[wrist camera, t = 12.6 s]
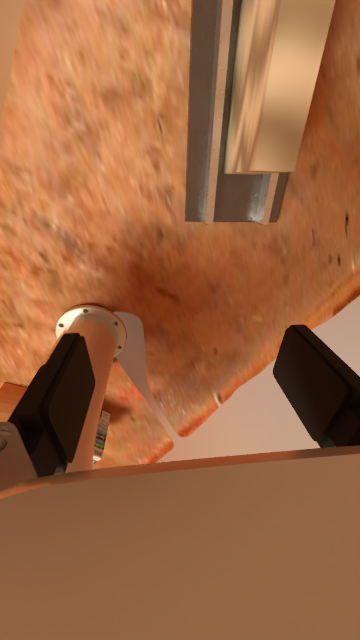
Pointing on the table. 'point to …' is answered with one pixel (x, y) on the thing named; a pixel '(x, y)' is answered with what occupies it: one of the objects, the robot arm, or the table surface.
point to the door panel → (274, 82)
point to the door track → (219, 126)
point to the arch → (9, 399)
